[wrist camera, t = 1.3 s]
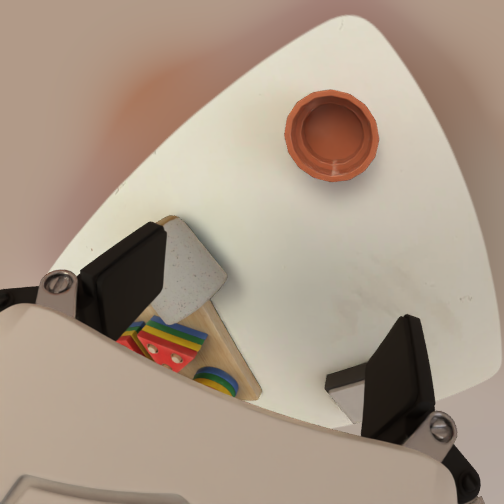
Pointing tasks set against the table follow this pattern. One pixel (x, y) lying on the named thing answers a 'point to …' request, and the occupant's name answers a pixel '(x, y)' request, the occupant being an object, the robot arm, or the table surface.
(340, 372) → the scale
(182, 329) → the shape sorter
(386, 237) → the table surface
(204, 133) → the table surface
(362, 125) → the terracotta pot
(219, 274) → the ceramic mug
